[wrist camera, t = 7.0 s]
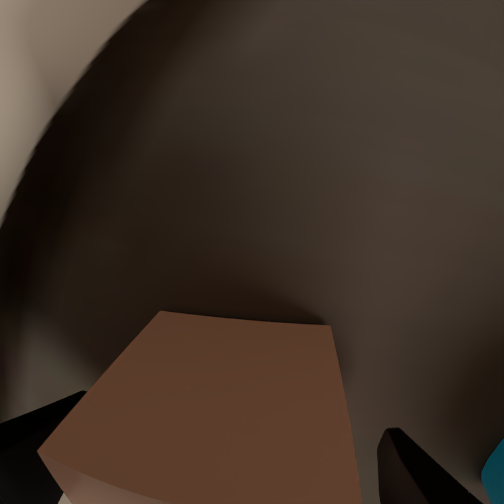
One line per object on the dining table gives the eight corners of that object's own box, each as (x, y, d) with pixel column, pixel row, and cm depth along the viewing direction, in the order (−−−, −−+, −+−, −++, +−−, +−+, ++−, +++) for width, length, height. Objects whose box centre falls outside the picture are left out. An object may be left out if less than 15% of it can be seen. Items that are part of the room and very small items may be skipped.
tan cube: (304, 458, 10) (298, 593, 4) (178, 443, 11) (126, 563, 5) (330, 325, 9) (363, 517, 3) (160, 310, 9) (36, 451, 3)
